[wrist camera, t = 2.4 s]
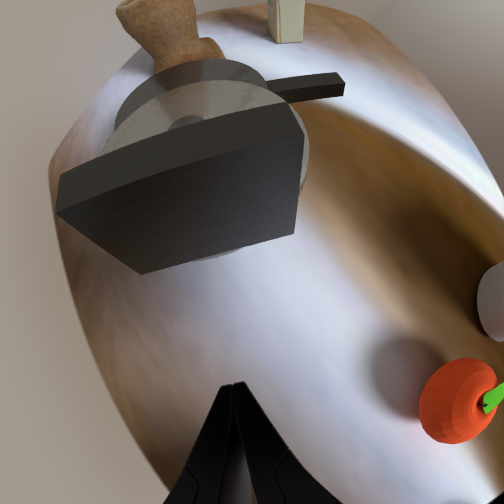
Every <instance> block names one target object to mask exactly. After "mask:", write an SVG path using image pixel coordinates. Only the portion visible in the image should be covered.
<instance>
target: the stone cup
mask: <svg viewBox="0 0 504 504" xmlns="http://www.w3.org/2000/svg"><path fill="white" fill-rule="evenodd" d="M116 15H117V17H118V19H119V20H120V22H121V24H122V26H123V28H124V29H125V31H126V32H127V33H128V34H129V35H130V36H131V37H132V38H134V39H135V40H136V41H137V42H138V43H139V44H140V45H141V46H142V47H143V48H144V49H145V50H146V51H147V52H148V53H149V54H150V55H151V56H152V58H153V59H154V61H155V62H154V73H155V74H157V73H159V72H161V71H163V70H165V69H168V68H170V67H172V66H175V65H178V64H181V63H185V62H189V61H194V60H201V59H226V58H225V56H224V54H223V52H222V50H221V48H220V47H219V46H218V44H217V43H216V42H215V41H214V40H213V39H211V38H209V37H205V38H199V36H198V31H197V25H196V9H195V5H194V2H193V0H125V1H123V2H122V3H120V4H119V5H118V6H117V8H116Z"/></svg>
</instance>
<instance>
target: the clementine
mask: <svg viewBox="0 0 504 504" xmlns="http://www.w3.org/2000/svg"><path fill="white" fill-rule="evenodd" d="M503 397H504V383H502V384H500V385H499V384H498V380H497V377H496V375H495V373H494V372H493V370H492V369H491V368H490V367H489V366H488V365H487V364H485V363H484V362H483V361H480V360H478V359H474V358H460V359H456V360H453V361H451V362H448V363H446V364H445V365H443V366H442V367H440V368H439V369H438V370H437V371H436V372H435V373H434V374H433V375H432V376H431V377H430V378H429V380H428V381H427V383H426V385H425V386H424V388H423V391H422V393H421V396H420V401H419V406H418V407H419V418H420V421H421V424H422V427H423V429H424V430H425V432H426V433H427V434H428V435H429V436H430V437H431V438H433V439H434V440H436V441H438V442H441V443H447V444H457V443H462V442H465V441H468V440H470V439H472V438H474V437H475V436H477V435H478V434H479V433H480V432H481V431H482V430H483V429H484V428H485V427H486V426H487V425H488V424H489V423H490V421H491V420H492V418H493V416H494V414H495V412H496V409H497V406H498V404H499V403H500V402H501V400H502V399H503Z"/></svg>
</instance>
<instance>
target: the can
mask: <svg viewBox="0 0 504 504" xmlns="http://www.w3.org/2000/svg"><path fill="white" fill-rule="evenodd" d="M477 309H478V313H479V318H480V321H481V324H482V326H483V328H484V330H485V332H486V333H487V334H488V335H489V336H490V337H491V338H492V339H494V340H496V341H504V261H502V262H500V263H499V264H497V265H495V266H493V267H492V268H490V269H488V271H487V272H486V273H485V274H484V275H483V277H482V279H481V281H480V283H479V288H478V293H477Z"/></svg>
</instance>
